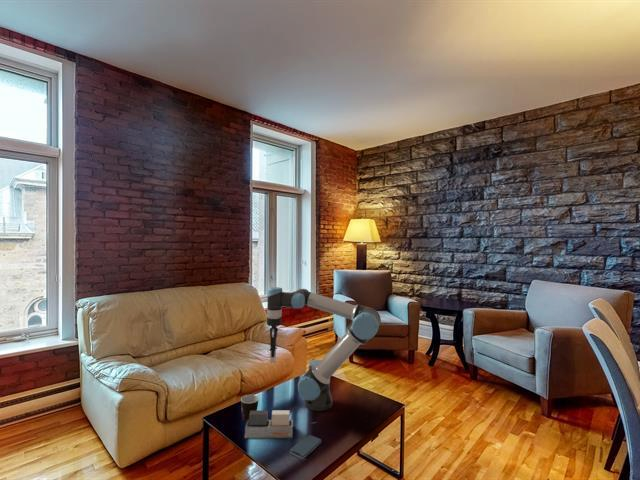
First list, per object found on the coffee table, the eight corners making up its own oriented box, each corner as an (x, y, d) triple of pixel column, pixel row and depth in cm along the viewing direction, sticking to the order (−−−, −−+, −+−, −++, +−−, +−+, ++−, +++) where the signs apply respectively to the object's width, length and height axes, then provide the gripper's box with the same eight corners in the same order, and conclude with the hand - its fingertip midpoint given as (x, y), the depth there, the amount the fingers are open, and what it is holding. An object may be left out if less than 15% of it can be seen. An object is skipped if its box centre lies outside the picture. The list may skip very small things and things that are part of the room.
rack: (292, 426, 154) (293, 407, 154) (292, 438, 145) (293, 417, 145) (247, 426, 152) (248, 407, 152) (244, 438, 143) (245, 418, 143)
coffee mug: (253, 425, 153) (254, 404, 153) (237, 422, 155) (237, 402, 155) (263, 412, 165) (263, 393, 165) (247, 410, 167) (247, 391, 167)
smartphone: (322, 439, 143) (303, 456, 130) (322, 443, 143) (303, 461, 130) (308, 433, 147) (288, 449, 134) (308, 437, 147) (288, 454, 134)
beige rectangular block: (289, 427, 151) (289, 410, 151) (288, 431, 147) (289, 414, 147) (271, 427, 150) (272, 410, 150) (271, 432, 147) (271, 414, 147)
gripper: (268, 314, 175) (266, 357, 175) (265, 320, 162) (264, 367, 162) (282, 314, 176) (280, 357, 176) (280, 320, 163) (279, 367, 162)
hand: (272, 362), depth 169 cm, fingers closed
